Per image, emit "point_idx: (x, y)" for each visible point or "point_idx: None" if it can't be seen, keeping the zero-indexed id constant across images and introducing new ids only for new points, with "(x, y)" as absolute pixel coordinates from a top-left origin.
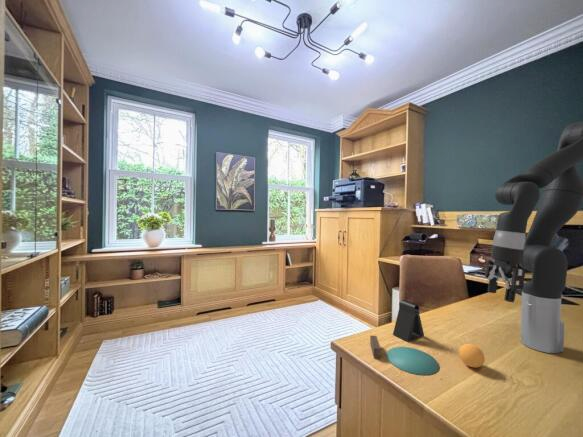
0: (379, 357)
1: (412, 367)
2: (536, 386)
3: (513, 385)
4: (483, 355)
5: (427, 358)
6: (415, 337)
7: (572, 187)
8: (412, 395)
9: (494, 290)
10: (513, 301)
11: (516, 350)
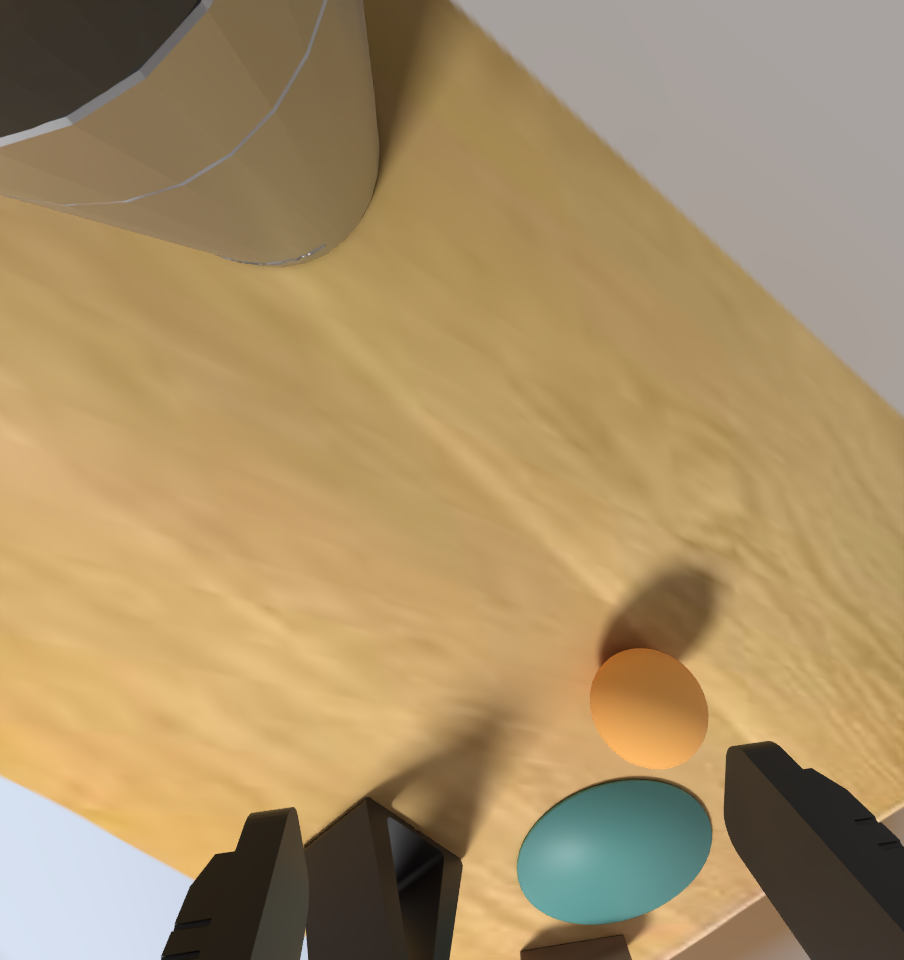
0: (624, 942)
1: (674, 858)
2: (752, 472)
3: (750, 563)
4: (691, 684)
5: (599, 810)
6: (408, 836)
7: None
8: None
9: (286, 870)
10: (770, 746)
11: (396, 370)
